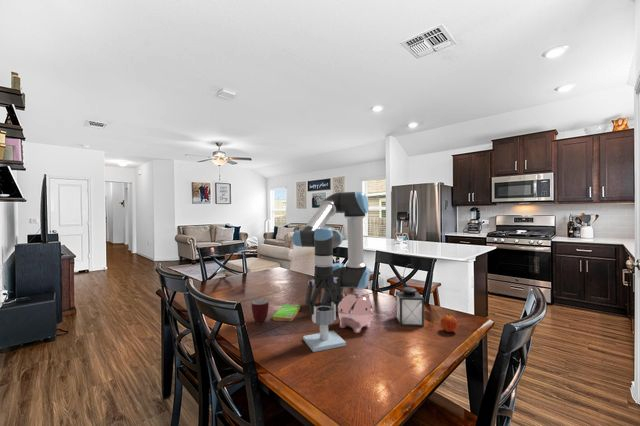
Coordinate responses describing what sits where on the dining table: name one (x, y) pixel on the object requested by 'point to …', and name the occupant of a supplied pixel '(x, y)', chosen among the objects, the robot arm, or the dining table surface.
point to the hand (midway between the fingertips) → (324, 320)
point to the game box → (286, 312)
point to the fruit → (449, 323)
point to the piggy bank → (355, 311)
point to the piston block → (324, 340)
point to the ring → (324, 315)
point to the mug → (260, 310)
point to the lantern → (409, 307)
